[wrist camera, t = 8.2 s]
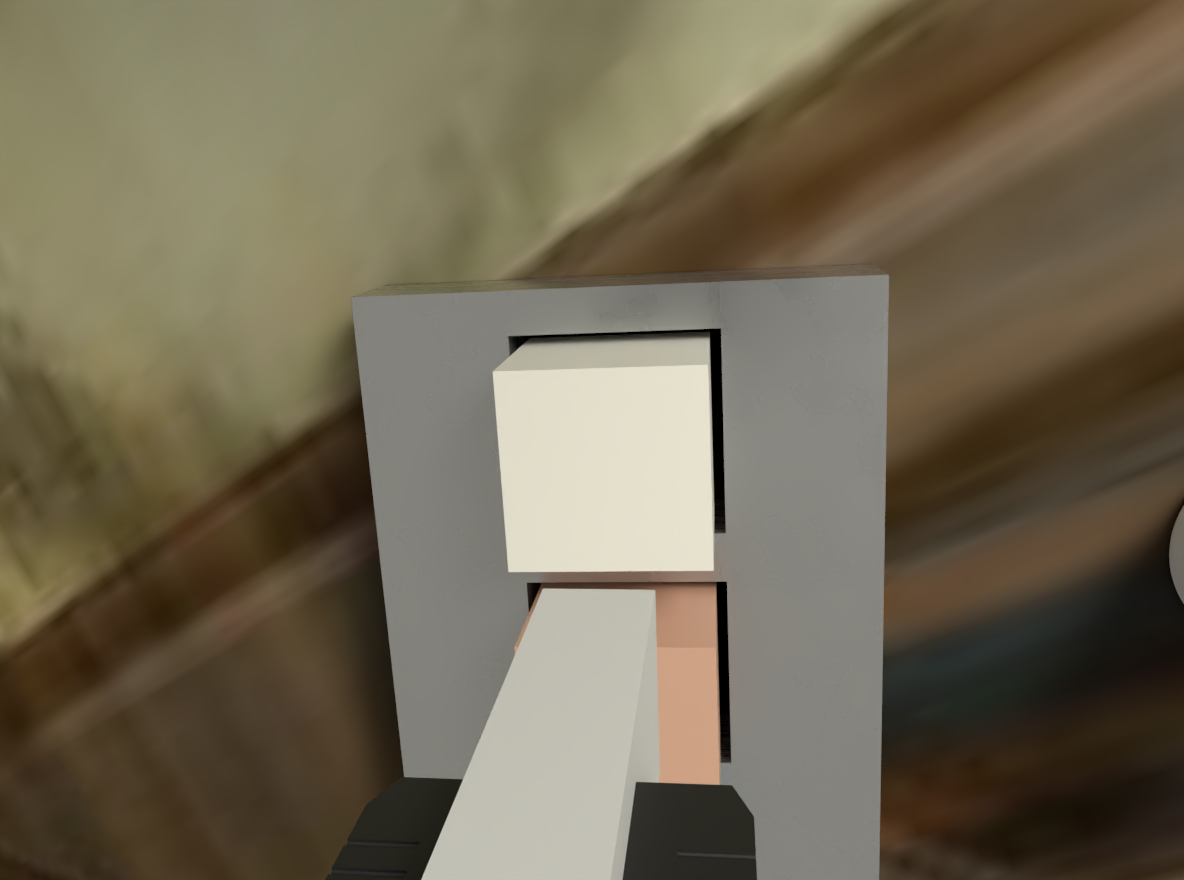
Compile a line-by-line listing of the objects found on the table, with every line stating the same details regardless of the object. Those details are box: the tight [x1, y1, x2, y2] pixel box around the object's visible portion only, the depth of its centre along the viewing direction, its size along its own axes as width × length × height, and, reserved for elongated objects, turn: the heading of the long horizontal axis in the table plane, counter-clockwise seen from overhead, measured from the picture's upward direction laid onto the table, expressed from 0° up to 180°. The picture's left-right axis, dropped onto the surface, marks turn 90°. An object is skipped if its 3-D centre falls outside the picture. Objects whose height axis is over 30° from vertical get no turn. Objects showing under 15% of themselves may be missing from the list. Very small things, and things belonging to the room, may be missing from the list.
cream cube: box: [493, 332, 715, 572], centre depth 27 cm, size 5×5×5 cm
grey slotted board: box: [351, 264, 889, 880], centre depth 31 cm, size 22×14×3 cm, turn 3°
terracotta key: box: [514, 582, 721, 785], centre depth 29 cm, size 5×5×5 cm
